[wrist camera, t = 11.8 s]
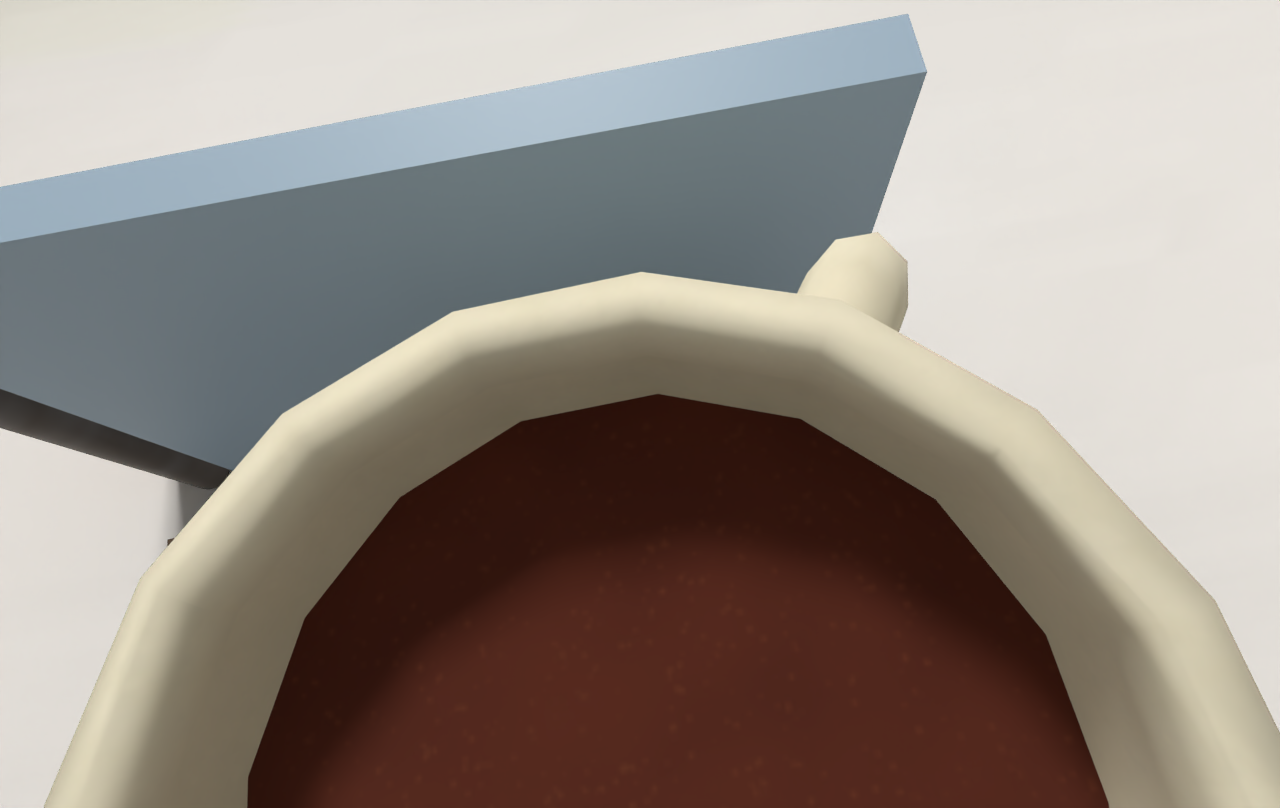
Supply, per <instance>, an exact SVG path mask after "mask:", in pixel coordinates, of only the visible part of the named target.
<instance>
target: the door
mask: <svg viewBox="0 0 1280 808" xmlns="http://www.w3.org/2000/svg"><path fill="white" fill-rule="evenodd" d="M926 73H927V70H926V67H925V64H924V61H923V58H922V55H921V52H920V49H919V46H918V42H917V39H916V36H915V33H914V30H913V27H912V24H911V21H910V18H909V15H908V14H905V15H900V16H894V17H889V18H884V19H879V20H874V21H868V22H863V23H858V24H853V25H847V26H842V27H837V28H832V29H826V30H821V31H816V32H811V33H805V34H800V35H795V36H790V37H784V38H779V39H774V40H769V41H763V42H758V43H753V44H748V45H742V46H737V47H732V48H727V49H721V50H716V51H711V52H706V53H700V54H695V55H690V56H685V57H679V58H674V59H669V60H664V61H658V62H653V63H648V64H643V65H638V66H632V67H627V68H622V69H617V70H611V71H606V72H601V73H596V74H590V75H585V76H580V77H575V78H569V79H564V80H559V81H554V82H548V83H543V84H538V85H533V86H527V87H522V88H517V89H512V90H506V91H501V92H496V93H491V94H485V95H480V96H475V97H470V98H464V99H459V100H454V101H449V102H443V103H438V104H433V105H428V106H423V107H417V108H412V109H407V110H402V111H396V112H391V113H386V114H381V115H375V116H370V117H365V118H360V119H354V120H349V121H344V122H339V123H333V124H328V125H323V126H318V127H312V128H307V129H302V130H297V131H291V132H286V133H281V134H276V135H270V136H265V137H260V138H255V139H249V140H244V141H239V142H234V143H228V144H223V145H218V146H213V147H207V148H202V149H197V150H192V151H187V152H181V153H176V154H171V155H166V156H160V157H155V158H150V159H145V160H139V161H134V162H129V163H124V164H118V165H113V166H108V167H103V168H97V169H92V170H87V171H82V172H76V173H71V174H66V175H61V176H55V177H50V178H45V179H40V180H34V181H29V182H24V183H19V184H13V185H8V186H3V187H0V389H2V390H5V391H8V392H11V393H14V394H17V395H19V396H22V397H25V398H28V399H31V400H34V401H36V402H39V403H42V404H45V405H48V406H51V407H53V408H56V409H59V410H62V411H65V412H68V413H70V414H73V415H76V416H79V417H82V418H85V419H87V420H90V421H93V422H96V423H99V424H102V425H104V426H107V427H110V428H113V429H116V430H119V431H121V432H124V433H127V434H130V435H133V436H136V437H138V438H141V439H144V440H147V441H150V442H153V443H155V444H158V445H161V446H164V447H167V448H170V449H172V450H175V451H178V452H181V453H184V454H187V455H189V456H192V457H195V458H198V459H201V460H204V461H206V462H209V463H212V464H215V465H218V466H221V467H223V468H226V469H229V470H232V471H233V470H234V469H235V468H236V467H237V466H238V464H239V463H240V462H241V461H242V460H243V459H244V457H245V456H246V455H247V454H248V453H249V452H250V450H251V449H252V448H253V447H254V446H255V445H256V444H257V442H258V441H259V440H260V439H261V438H262V437H263V435H264V434H265V433H266V432H267V431H268V430H269V428H270V427H271V426H272V425H273V424H274V423H275V421H276V420H277V419H278V418H279V417H280V416H281V415H282V414H283V413H284V412H286V411H288V410H289V409H291V408H293V407H294V406H296V405H298V404H299V403H301V402H303V401H304V400H306V399H308V398H309V397H311V396H313V395H314V394H316V393H318V392H319V391H321V390H323V389H324V388H326V387H328V386H329V385H331V384H333V383H334V382H336V381H338V380H339V379H341V378H343V377H344V376H346V375H348V374H349V373H351V372H353V371H354V370H356V369H358V368H359V367H361V366H363V365H364V364H366V363H368V362H369V361H371V360H373V359H374V358H376V357H378V356H379V355H381V354H383V353H384V352H386V351H388V350H390V349H391V348H393V347H395V346H396V345H398V344H400V343H401V342H403V341H405V340H406V339H408V338H410V337H411V336H413V335H415V334H416V333H418V332H420V331H421V330H423V329H425V328H426V327H428V326H430V325H431V324H433V323H435V322H436V321H438V320H440V319H441V318H443V317H445V316H446V315H448V314H450V313H451V312H454V311H458V310H463V309H468V308H473V307H477V306H482V305H487V304H492V303H496V302H501V301H506V300H510V299H515V298H520V297H525V296H529V295H534V294H539V293H544V292H548V291H553V290H558V289H562V288H567V287H572V286H577V285H581V284H586V283H591V282H596V281H600V280H605V279H610V278H614V277H619V276H624V275H629V274H633V273H638V272H646V273H653V274H660V275H668V276H675V277H682V278H689V279H696V280H703V281H710V282H717V283H724V284H732V285H739V286H746V287H753V288H760V289H767V290H774V291H781V292H789V293H796V294H797V293H798V290H799V288H800V286H801V284H802V282H803V280H804V278H805V276H806V274H807V273H808V271H809V270H810V269H811V268H812V267H813V266H814V264H815V263H816V262H817V261H818V260H819V259H820V257H821V256H822V255H823V254H824V253H825V251H826V250H827V249H828V248H829V247H830V246H831V244H832V243H833V242H834V241H835V240H836V239H842V238H848V237H853V236H859V235H865V234H870V233H872V230H873V227H874V224H875V221H876V218H877V216H878V213H879V210H880V207H881V204H882V201H883V198H884V195H885V192H886V189H887V187H888V184H889V181H890V178H891V175H892V172H893V169H894V166H895V163H896V160H897V157H898V155H899V152H900V149H901V146H902V143H903V140H904V137H905V134H906V131H907V128H908V125H909V123H910V120H911V117H912V114H913V111H914V108H915V105H916V102H917V99H918V96H919V93H920V91H921V88H922V85H923V82H924V79H925V76H926Z"/></svg>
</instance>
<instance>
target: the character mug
mask: <svg viewBox="0 0 1280 808" xmlns="http://www.w3.org/2000/svg"><path fill="white" fill-rule="evenodd" d="M907 307H908V273H907V261H906V260H905V259H904V258H903V257H902V256H901V255H900V254H899V253H898V252H897V251H896V250H895V249H894V248H893V247H892V246H891V245H890V244H889V243H888V242H887V241H886V240H885V239H884V238H883V237H882V236H881V235H880V234H879V233H878V232H876V233H870V234H865V235H859V236H853V237H848V238H842V239H836V240H835V241H834V242H833V243H832V244H831V246H830V247H829V248H828V249H827V250H826V251H825V253H824V254H823V255H822V256H821V257H820V259H819V260H818V261H817V262H816V263H815V264H814V266H813V267H812V268H811V269H810V270H809V271H808V273H807V274H806V276H805V278H804V280H803V282H802V284H801V286H800V288H799V290H798V293H797V294H796V293H789V292H781V291H774V290H767V289H760V288H753V287H746V286H739V285H732V284H724V283H717V282H710V281H703V280H696V279H689V278H682V277H675V276H668V275H660V274H653V273H646V272H638V273H633V274H629V275H624V276H619V277H614V278H610V279H605V280H600V281H596V282H591V283H586V284H581V285H577V286H572V287H567V288H562V289H558V290H553V291H548V292H544V293H539V294H534V295H529V296H525V297H520V298H515V299H510V300H506V301H501V302H496V303H492V304H487V305H482V306H477V307H473V308H468V309H463V310H458V311H454V312H451V313H450V314H448V315H446V316H445V317H443V318H441V319H440V320H438V321H436V322H435V323H433V324H431V325H430V326H428V327H426V328H425V329H423V330H421V331H420V332H418V333H416V334H415V335H413V336H411V337H410V338H408V339H406V340H405V341H403V342H401V343H400V344H398V345H396V346H395V347H393V348H391V349H390V350H388V351H386V352H384V353H383V354H381V355H379V356H378V357H376V358H374V359H373V360H371V361H369V362H368V363H366V364H364V365H363V366H361V367H359V368H358V369H356V370H354V371H353V372H351V373H349V374H348V375H346V376H344V377H343V378H341V379H339V380H338V381H336V382H334V383H333V384H331V385H329V386H328V387H326V388H324V389H323V390H321V391H319V392H318V393H316V394H314V395H313V396H311V397H309V398H308V399H306V400H304V401H303V402H301V403H299V404H298V405H296V406H294V407H293V408H291V409H289V410H288V411H286V412H284V413H283V414H282V415H281V416H280V417H279V418H278V419H277V420H276V421H275V423H274V424H273V425H272V426H271V427H270V428H269V430H268V431H267V432H266V433H265V434H264V435H263V437H262V438H261V439H260V440H259V441H258V442H257V444H256V445H255V446H254V447H253V448H252V449H251V450H250V452H249V453H248V454H247V455H246V456H245V457H244V459H243V460H242V461H241V462H240V463H239V464H238V466H237V467H236V468H235V469H234V470H233V471H232V472H231V474H230V475H229V476H228V477H227V478H226V479H225V481H224V482H223V483H222V484H221V485H220V486H219V488H218V489H217V490H216V491H215V492H214V493H213V495H212V496H211V497H210V498H209V499H208V500H207V501H206V503H205V504H204V505H203V506H202V507H201V508H200V510H199V511H198V512H197V513H196V514H195V515H194V517H193V518H192V519H191V520H190V521H189V522H188V524H187V525H186V526H185V527H184V528H183V529H182V530H181V532H180V533H179V534H178V535H177V536H176V537H175V539H174V540H173V541H172V542H171V543H170V544H169V546H168V547H167V548H166V549H165V550H164V551H163V552H162V554H161V555H160V556H159V557H158V558H157V559H156V561H155V562H154V563H153V564H152V565H151V566H150V568H149V569H148V570H147V571H146V572H145V573H144V575H143V576H142V577H141V578H140V580H139V582H138V585H137V587H136V590H135V592H134V594H133V597H132V599H131V601H130V604H129V606H128V608H127V611H126V613H125V616H124V618H123V620H122V623H121V625H120V627H119V630H118V632H117V635H116V637H115V639H114V642H113V644H112V646H111V649H110V651H109V653H108V656H107V658H106V661H105V663H104V665H103V668H102V670H101V672H100V675H99V677H98V679H97V682H96V684H95V687H94V689H93V691H92V694H91V696H90V698H89V701H88V703H87V705H86V708H85V710H84V713H83V715H82V717H81V720H80V722H79V724H78V727H77V729H76V732H75V734H74V736H73V739H72V741H71V743H70V746H69V748H68V750H67V753H66V755H65V758H64V760H63V762H62V765H61V767H60V769H59V772H58V774H57V776H56V779H55V781H54V784H53V786H52V788H51V791H50V793H49V795H48V798H47V800H46V802H45V805H44V808H1280V732H1279V730H1278V728H1277V726H1276V724H1275V722H1274V720H1273V718H1272V716H1271V714H1270V712H1269V710H1268V708H1267V706H1266V704H1265V701H1264V699H1263V697H1262V695H1261V693H1260V691H1259V689H1258V687H1257V685H1256V683H1255V681H1254V679H1253V677H1252V675H1251V673H1250V671H1249V669H1248V667H1247V665H1246V663H1245V660H1244V658H1243V656H1242V654H1241V652H1240V650H1239V648H1238V646H1237V644H1236V642H1235V640H1234V638H1233V636H1232V634H1231V632H1230V630H1229V628H1228V626H1227V624H1226V622H1225V620H1224V617H1223V615H1222V613H1221V611H1220V609H1219V607H1218V605H1217V603H1216V601H1215V600H1214V599H1213V598H1212V596H1211V595H1210V594H1209V593H1208V592H1207V591H1206V590H1205V589H1204V588H1203V587H1202V586H1201V585H1200V584H1199V583H1198V581H1197V580H1196V579H1195V578H1194V577H1193V576H1192V575H1191V574H1190V573H1189V572H1188V571H1187V570H1186V569H1185V568H1184V566H1183V565H1182V564H1181V563H1180V562H1179V561H1178V560H1177V559H1176V558H1175V557H1174V556H1173V555H1172V554H1171V553H1170V551H1169V550H1168V549H1167V548H1166V547H1165V546H1164V545H1163V544H1162V543H1161V542H1160V541H1159V540H1158V539H1157V538H1156V536H1155V535H1154V534H1153V533H1152V532H1151V531H1150V530H1149V529H1148V528H1147V527H1146V526H1145V525H1144V524H1143V523H1142V521H1141V520H1140V519H1139V518H1138V517H1137V516H1136V515H1135V514H1134V513H1133V512H1132V511H1131V510H1130V509H1129V508H1128V506H1127V505H1126V504H1125V503H1124V502H1123V501H1122V500H1121V499H1120V498H1119V497H1118V496H1117V495H1116V494H1115V493H1114V491H1113V490H1112V489H1111V488H1110V487H1109V486H1108V485H1107V484H1106V483H1105V482H1104V481H1103V480H1102V479H1101V478H1100V476H1099V475H1098V474H1097V473H1096V472H1095V471H1094V470H1093V469H1092V468H1091V467H1090V466H1089V465H1088V464H1087V463H1086V461H1085V460H1084V459H1083V458H1082V457H1081V456H1080V455H1079V454H1078V453H1077V452H1076V451H1075V450H1074V449H1073V448H1072V446H1071V445H1070V444H1069V443H1068V442H1067V441H1066V440H1065V439H1064V438H1063V437H1062V436H1061V435H1060V434H1059V433H1058V431H1057V430H1056V429H1055V428H1054V427H1053V426H1052V425H1051V424H1050V423H1049V422H1048V421H1047V420H1046V419H1045V418H1044V416H1043V415H1042V414H1041V413H1040V412H1039V411H1038V410H1037V409H1035V408H1033V407H1031V406H1030V405H1028V404H1026V403H1024V402H1023V401H1021V400H1019V399H1017V398H1015V397H1014V396H1012V395H1010V394H1008V393H1006V392H1005V391H1003V390H1001V389H999V388H997V387H996V386H994V385H992V384H990V383H988V382H987V381H985V380H983V379H981V378H980V377H978V376H976V375H974V374H972V373H971V372H969V371H967V370H965V369H963V368H962V367H960V366H958V365H956V364H954V363H953V362H951V361H949V360H947V359H945V358H944V357H942V356H940V355H938V354H937V353H935V352H933V351H931V350H929V349H928V348H926V347H924V346H922V345H920V344H919V343H917V342H915V341H913V340H911V339H910V338H908V337H906V336H904V335H902V334H901V333H899V330H900V328H901V325H902V322H903V319H904V316H905V313H906V310H907Z"/></svg>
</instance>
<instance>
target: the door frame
mask: <svg viewBox="0 0 1280 808" xmlns="http://www.w3.org/2000/svg"><path fill="white" fill-rule="evenodd" d="M0 428H3V429H6V430H9V431H13V432H16V433H19V434H23V435H26V436H29V437H33V438H36V439H39V440H43V441H46V442H49V443H53V444H56V445H59V446H63V447H66V448H69V449H73V450H76V451H79V452H83V453H86V454H89V455H93V456H96V457H99V458H103V459H106V460H109V461H113V462H116V463H119V464H123V465H126V466H129V467H133V468H136V469H139V470H143V471H146V472H150V473H153V474H156V475H160V476H163V477H166V478H170V479H173V480H176V481H180V482H183V483H186V484H190V485H193V486H196V487H200V488H203V489H212V488H215V487H217V486H218V485H220V484H221V483H222V482H223V481H224V480H225V478H226V477H227V475H228V472H229V469H226V468H223V467H221V466H218V465H215V464H212V463H209V462H206V461H204V460H201V459H198V458H195V457H192V456H189V455H187V454H184V453H181V452H178V451H175V450H172V449H170V448H167V447H164V446H161V445H158V444H155V443H153V442H150V441H147V440H144V439H141V438H138V437H136V436H133V435H130V434H127V433H124V432H121V431H119V430H116V429H113V428H110V427H107V426H104V425H102V424H99V423H96V422H93V421H90V420H87V419H85V418H82V417H79V416H76V415H73V414H70V413H68V412H65V411H62V410H59V409H56V408H53V407H51V406H48V405H45V404H42V403H39V402H36V401H34V400H31V399H28V398H25V397H22V396H19V395H17V394H14V393H11V392H8V391H5V390H2V389H0ZM174 539H175V538H173V539H169V540H168V546H169V544H170V543H171V542H172V541H173V540H174Z"/></svg>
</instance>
